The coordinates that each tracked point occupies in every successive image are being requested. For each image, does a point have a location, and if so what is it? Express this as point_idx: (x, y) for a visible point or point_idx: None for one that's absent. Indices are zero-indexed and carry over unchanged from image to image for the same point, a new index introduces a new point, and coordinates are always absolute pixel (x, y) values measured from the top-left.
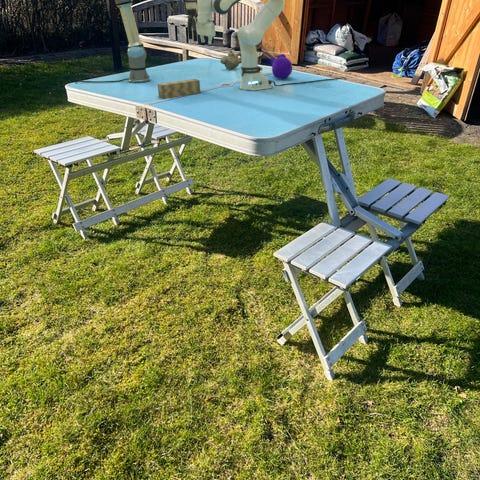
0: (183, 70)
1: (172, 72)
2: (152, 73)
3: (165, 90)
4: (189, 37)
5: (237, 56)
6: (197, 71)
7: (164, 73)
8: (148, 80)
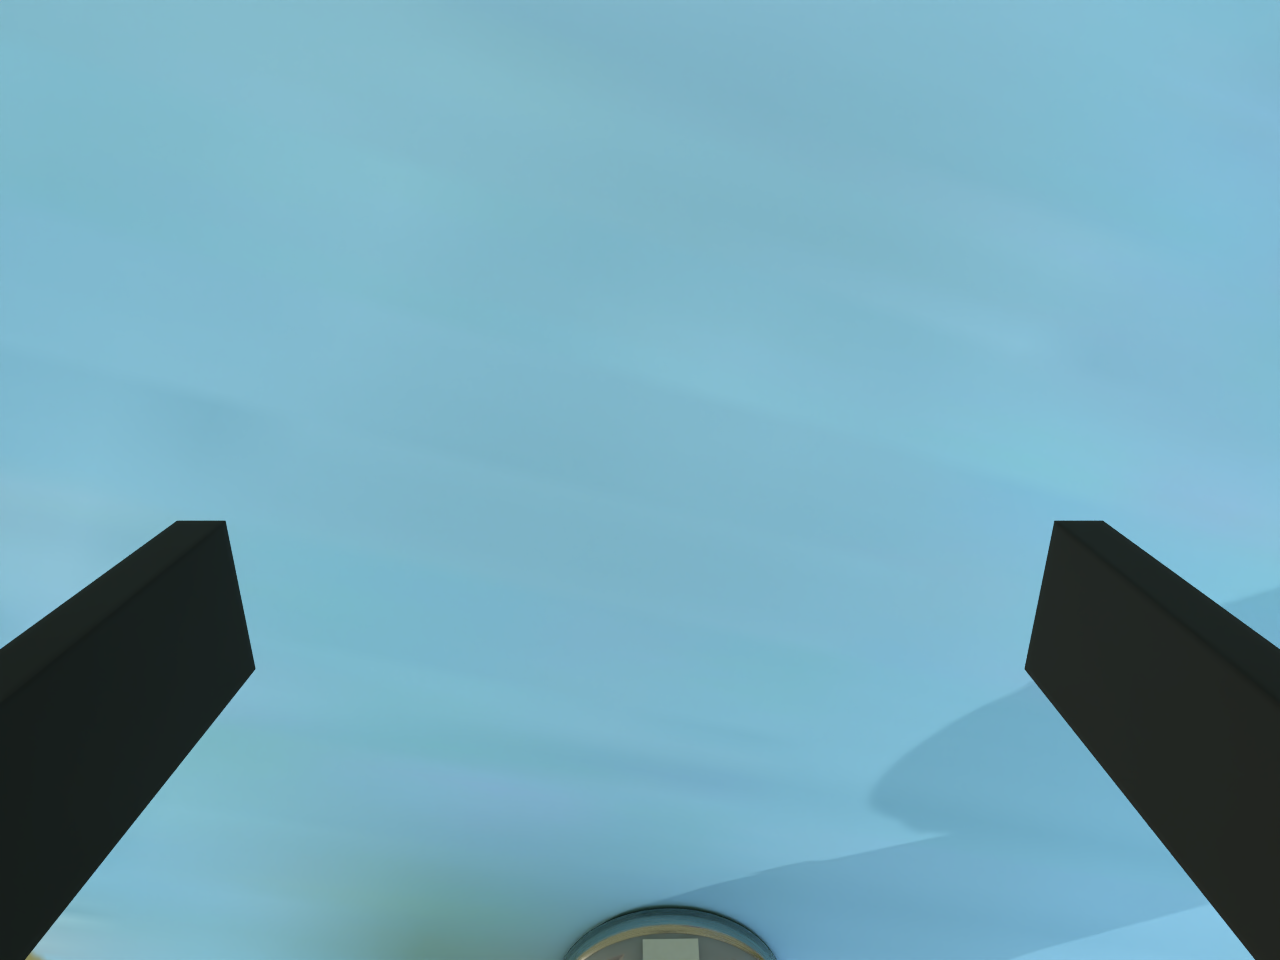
0: (80, 375)
1: None
2: (221, 807)
3: None
4: (212, 696)
5: None
6: (251, 167)
7: (271, 683)
8: (743, 932)
